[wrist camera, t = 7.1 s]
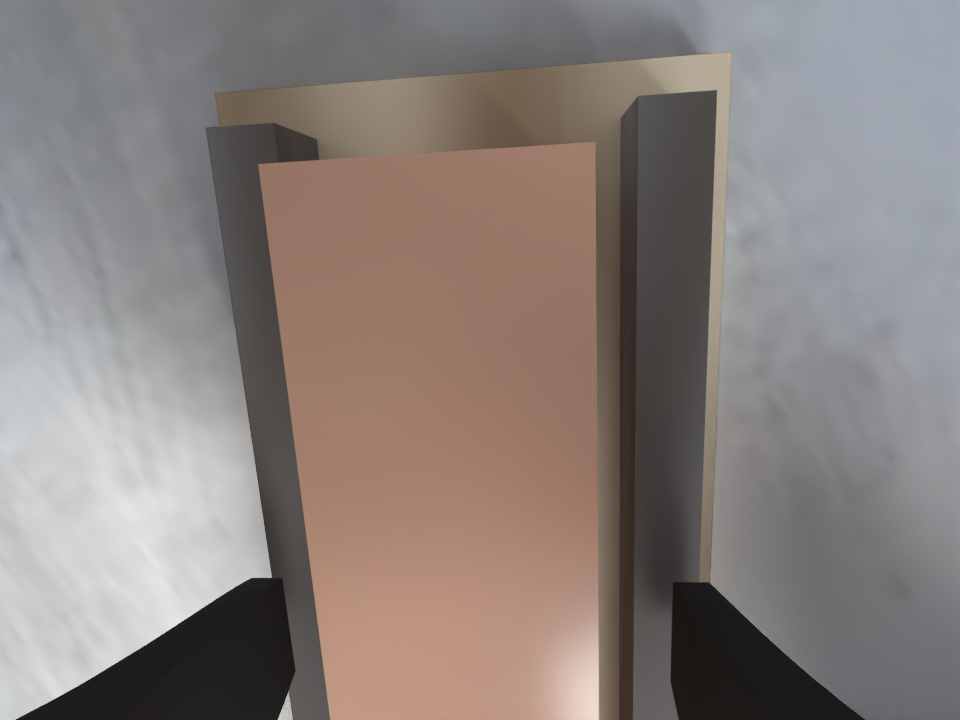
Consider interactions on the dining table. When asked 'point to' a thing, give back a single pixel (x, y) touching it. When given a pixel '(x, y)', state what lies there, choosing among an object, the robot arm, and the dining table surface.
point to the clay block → (445, 425)
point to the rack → (619, 313)
